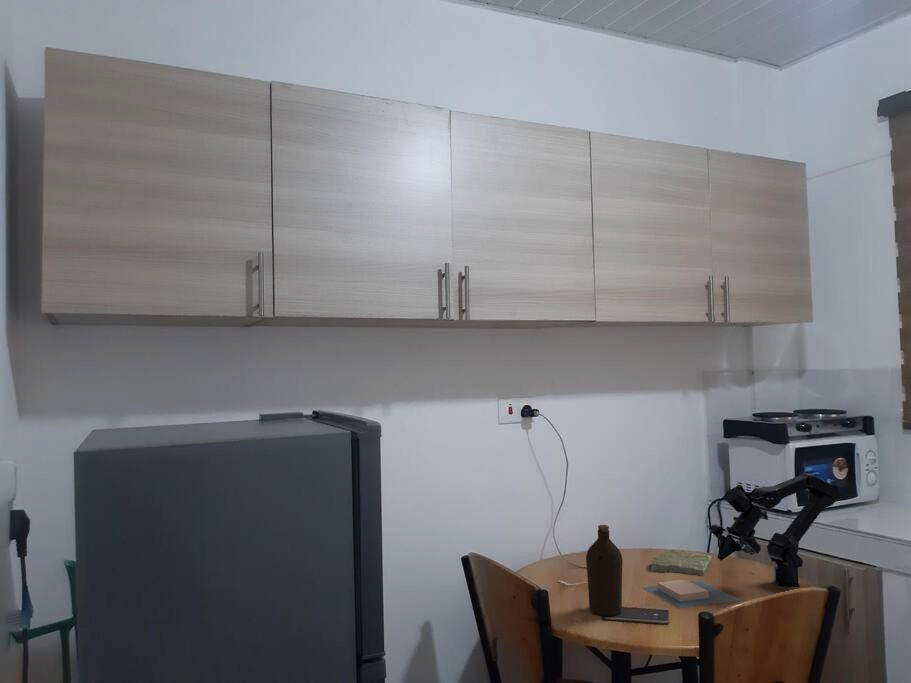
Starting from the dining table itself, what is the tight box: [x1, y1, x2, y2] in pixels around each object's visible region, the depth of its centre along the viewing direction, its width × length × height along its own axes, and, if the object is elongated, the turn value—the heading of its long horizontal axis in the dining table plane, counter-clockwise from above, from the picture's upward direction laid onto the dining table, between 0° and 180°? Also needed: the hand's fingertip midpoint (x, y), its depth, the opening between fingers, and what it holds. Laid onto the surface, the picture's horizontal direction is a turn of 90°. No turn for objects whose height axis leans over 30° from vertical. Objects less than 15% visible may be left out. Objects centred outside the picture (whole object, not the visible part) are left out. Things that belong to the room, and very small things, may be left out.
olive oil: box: [585, 524, 624, 617], centre depth 202 cm, size 11×11×25 cm
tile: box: [657, 578, 709, 603], centre depth 213 cm, size 2×12×10 cm
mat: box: [641, 580, 740, 609], centre depth 214 cm, size 22×20×1 cm
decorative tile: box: [650, 549, 713, 576], centre depth 245 cm, size 19×20×4 cm
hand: (719, 559), depth 217 cm, fingers closed
